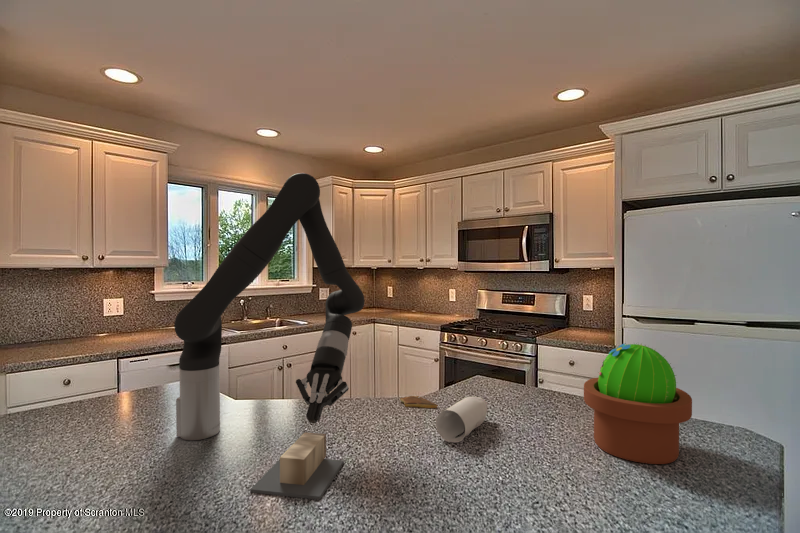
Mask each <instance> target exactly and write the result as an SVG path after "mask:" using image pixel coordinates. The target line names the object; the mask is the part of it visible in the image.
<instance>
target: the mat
mask: <svg viewBox="0 0 800 533" xmlns="http://www.w3.org/2000/svg"><path fill="white" fill-rule="evenodd" d="M344 462H345V460H339V459H331V458H324V460H323V461H322V462H321V463H320V465H319V466H318V467H317V469H316V470H315V471H314V473H313V474H312V475H311V477H310V478H309V479H308V480H307V482H306V483H305V484H304V485H298V484H288V483H280V459H278V460H277V461H276V462H275V464H273V466H271V467H270V468H269V470H268V471H267V472H266V473H265V474H264V475H262V477H261V478H259V479H258V481H257V482H256V483H255V484H253V486H252V487H251V488H250V489H249V491H250V493H252V494H253V493H254V494H264V495H272V496H280V497H289V498H290V497H291V498H298V499H300V498H301V499H307V500H308V499H309V500H317V501H318V500H319V501H320V500H321V499H322V497H323V496H324V494H325V493H326V491H327V490H328V488H329V487H330V485H331V484H332V482H333V481H334V479H335V477H336V476H337V474H338V473H339V471H340V469H342V466H343V465H344Z"/></svg>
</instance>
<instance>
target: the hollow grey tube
mask: <svg viewBox="0 0 800 533" xmlns="http://www.w3.org/2000/svg"><path fill="white" fill-rule="evenodd" d="M488 405H489V403H488V402H487V401H486V400H485V399H484V398H482V397H481V396H479V397H477V396H466V397H464V398H462V399H461V400H459V401H457V402H456V403H454V404H452V405H451V406H449V407H448V408H446V409H443V410H442V411H440V412H438V414H437V417H435V422H434V423H435V427H436V430H437V432H438V434H439V436H440V437H441V438H442V440H444V441H446V442H447V443H448V442H449V443H453V444H454V443H455V444H456V443H459V442H462V441H463V440H464V438H465V437H467V436H469V435H470V434H471V432H472V431H473V430H475V429H476V428H479V427H480V426H481V425H482V424H483V423H484V422H485V420H486V417H487V414H488V408H489V407H488ZM463 432H464V433H463ZM462 433H463V434H462ZM458 435H459V436H458Z"/></svg>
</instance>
